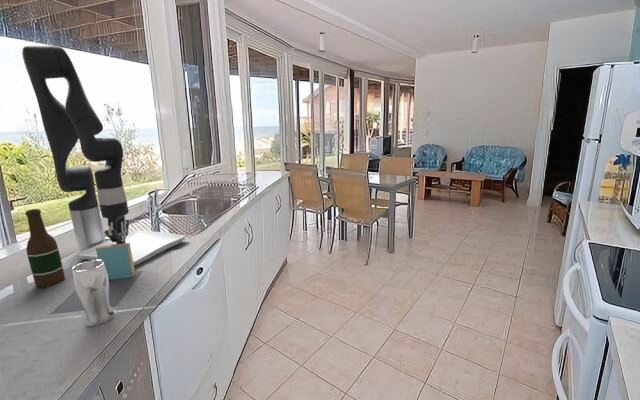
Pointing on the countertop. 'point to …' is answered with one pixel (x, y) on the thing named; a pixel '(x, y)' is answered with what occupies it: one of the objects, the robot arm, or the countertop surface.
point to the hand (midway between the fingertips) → (122, 251)
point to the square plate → (140, 245)
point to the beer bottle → (43, 253)
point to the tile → (117, 260)
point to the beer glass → (93, 291)
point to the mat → (115, 295)
